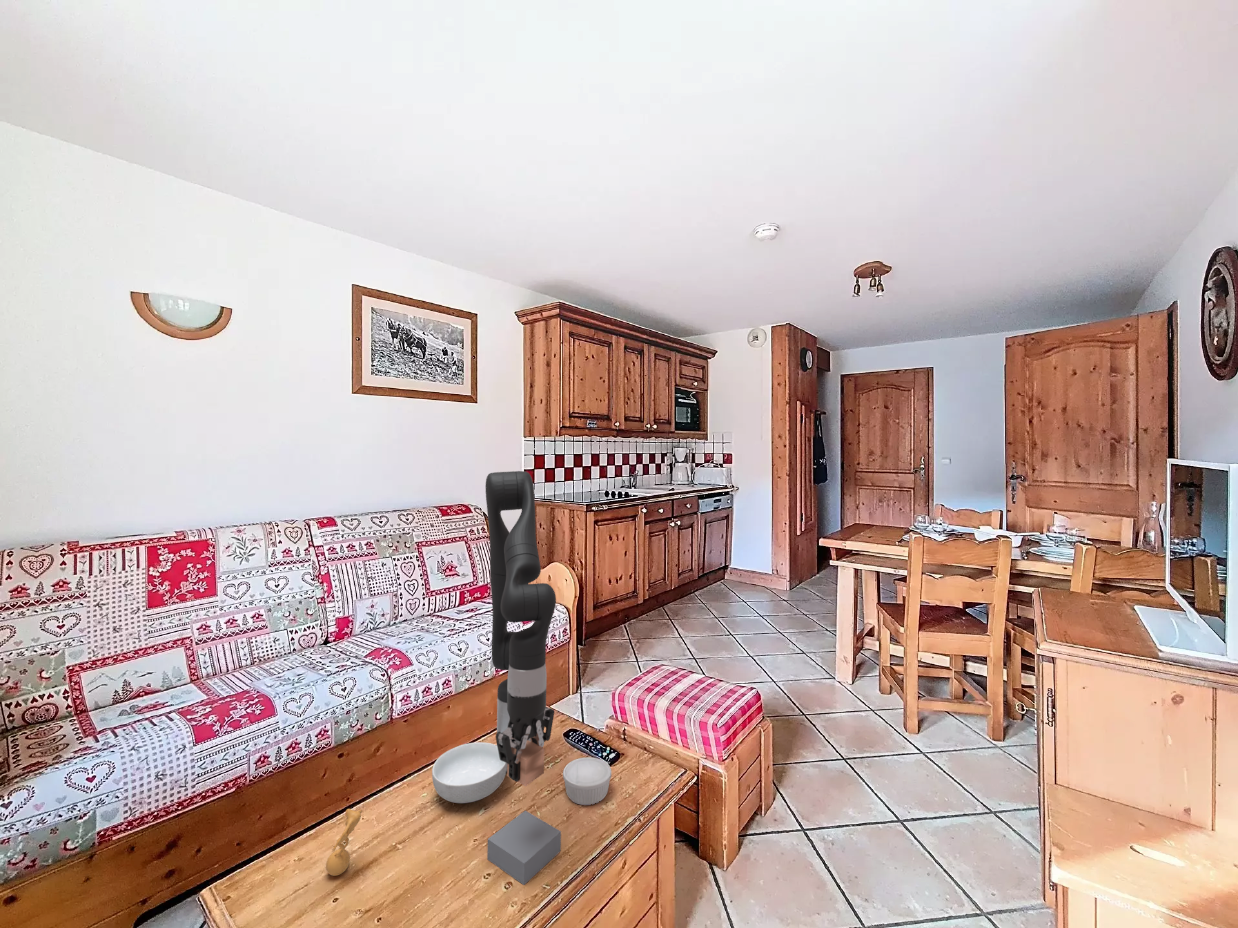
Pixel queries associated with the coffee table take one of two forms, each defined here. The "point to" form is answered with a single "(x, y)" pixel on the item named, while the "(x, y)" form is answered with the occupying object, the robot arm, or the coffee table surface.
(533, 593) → the robot arm
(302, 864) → the coffee table surface
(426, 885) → the coffee table surface
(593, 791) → the ramekin
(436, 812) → the coffee table surface
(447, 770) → the cereal bowl
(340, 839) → the figurine
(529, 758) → the terracotta cube
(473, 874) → the coffee table surface
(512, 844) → the slate base
